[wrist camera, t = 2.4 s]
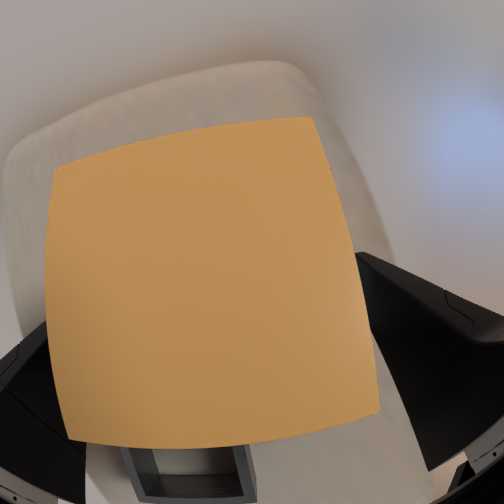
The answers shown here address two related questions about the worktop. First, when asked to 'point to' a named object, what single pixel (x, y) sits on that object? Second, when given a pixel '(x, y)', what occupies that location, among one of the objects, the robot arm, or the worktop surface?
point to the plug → (205, 291)
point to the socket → (190, 481)
